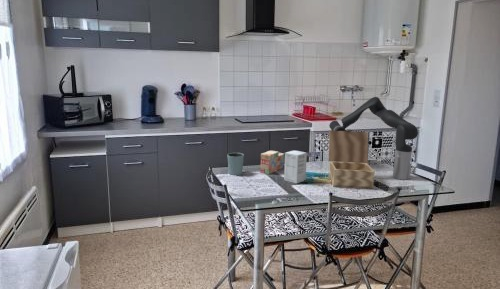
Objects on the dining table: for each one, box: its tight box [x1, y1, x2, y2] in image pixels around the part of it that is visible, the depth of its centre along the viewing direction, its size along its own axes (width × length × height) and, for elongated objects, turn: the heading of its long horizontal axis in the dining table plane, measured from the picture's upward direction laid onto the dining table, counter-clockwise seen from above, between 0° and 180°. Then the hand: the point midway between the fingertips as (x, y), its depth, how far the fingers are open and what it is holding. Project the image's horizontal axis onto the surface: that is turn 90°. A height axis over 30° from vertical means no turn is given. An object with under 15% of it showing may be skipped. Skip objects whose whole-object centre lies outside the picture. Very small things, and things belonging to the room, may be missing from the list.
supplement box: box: [283, 150, 308, 184], centre depth 221 cm, size 10×9×17 cm
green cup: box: [227, 152, 245, 176], centre depth 231 cm, size 10×10×12 cm
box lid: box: [328, 128, 369, 164], centre depth 229 cm, size 23×20×3 cm
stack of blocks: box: [259, 150, 285, 175], centre depth 242 cm, size 21×6×12 cm, turn 148°
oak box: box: [328, 161, 375, 190], centre depth 220 cm, size 22×18×10 cm
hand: (344, 136), depth 244 cm, fingers closed
